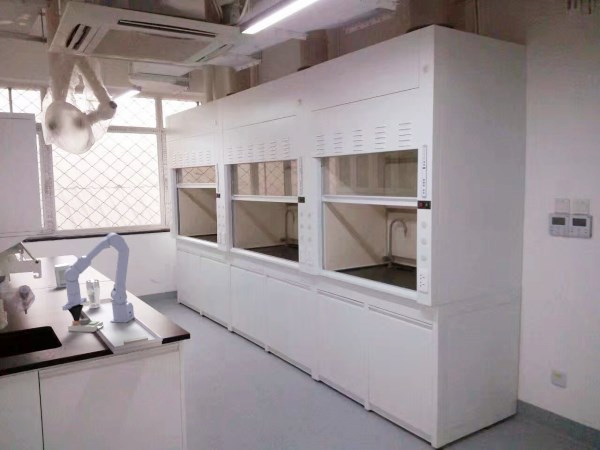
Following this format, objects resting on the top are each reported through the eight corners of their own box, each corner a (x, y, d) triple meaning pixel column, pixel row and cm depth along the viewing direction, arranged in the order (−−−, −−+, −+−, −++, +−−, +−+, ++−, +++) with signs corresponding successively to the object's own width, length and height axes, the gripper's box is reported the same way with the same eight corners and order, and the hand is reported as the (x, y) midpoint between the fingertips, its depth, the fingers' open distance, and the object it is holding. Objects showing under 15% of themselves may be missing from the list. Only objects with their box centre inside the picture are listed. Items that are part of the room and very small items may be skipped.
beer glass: (85, 308, 265) (82, 282, 263) (95, 304, 271) (92, 279, 269) (95, 309, 262) (92, 282, 261) (104, 305, 269) (101, 279, 267)
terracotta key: (82, 324, 231) (81, 319, 231) (78, 326, 228) (77, 321, 228) (76, 324, 232) (76, 319, 232) (72, 326, 229) (72, 321, 229)
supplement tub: (75, 284, 327) (73, 263, 325) (66, 287, 318) (63, 266, 316) (63, 284, 329) (60, 263, 327) (53, 288, 320) (50, 266, 318)
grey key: (90, 323, 230) (89, 318, 230) (86, 325, 227) (85, 320, 227) (84, 323, 231) (84, 318, 231) (80, 325, 228) (80, 320, 228)
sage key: (98, 326, 229) (98, 321, 229) (94, 328, 226) (94, 323, 226) (93, 326, 230) (92, 321, 230) (89, 328, 227) (88, 323, 227)
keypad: (103, 326, 231) (102, 321, 231) (93, 331, 224) (93, 326, 224) (78, 326, 234) (77, 320, 234) (68, 331, 228) (67, 325, 227)
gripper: (76, 289, 236) (79, 315, 238) (55, 297, 222) (59, 325, 224) (89, 289, 235) (92, 315, 236) (68, 297, 221) (71, 325, 222)
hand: (76, 320), depth 230 cm, fingers closed, pressing on terracotta key
